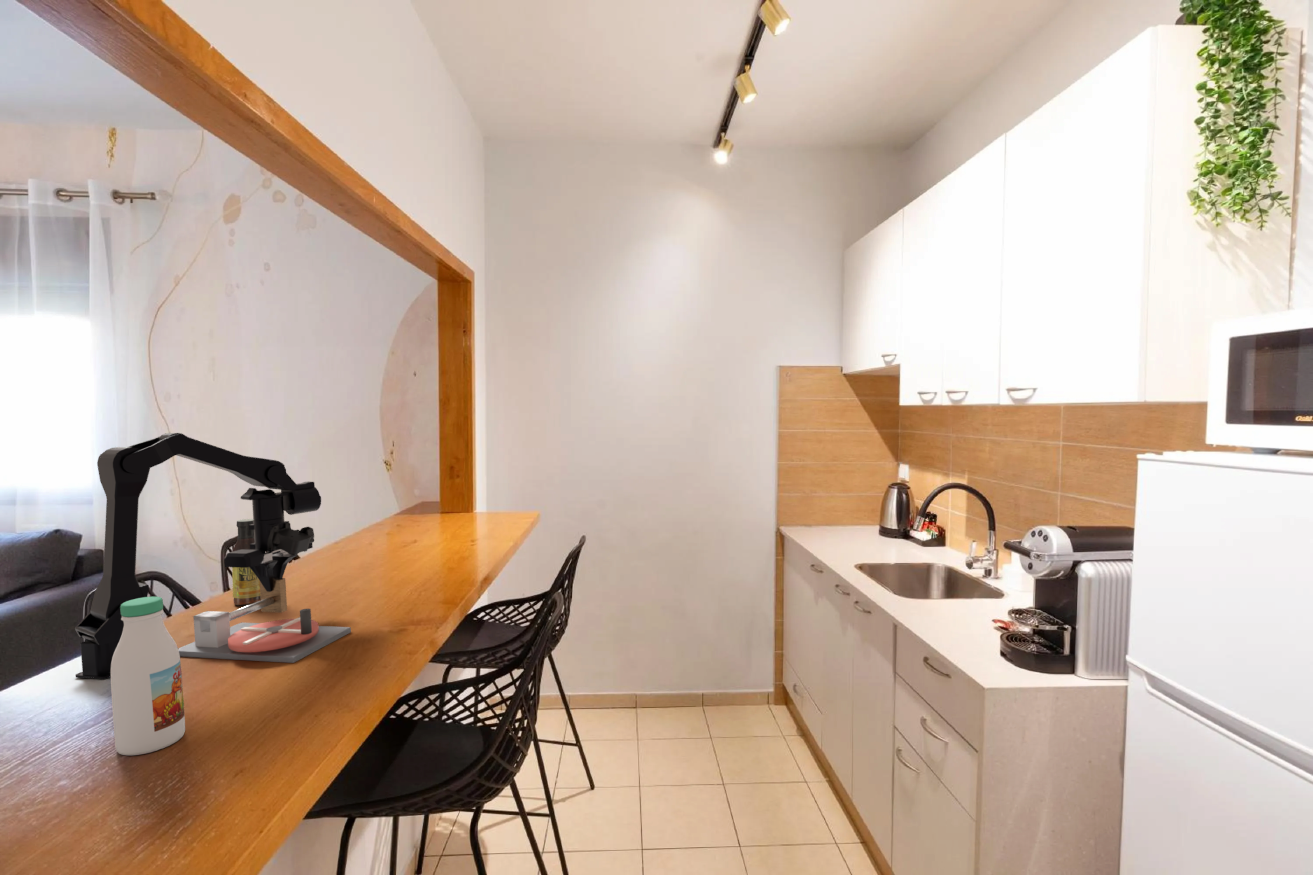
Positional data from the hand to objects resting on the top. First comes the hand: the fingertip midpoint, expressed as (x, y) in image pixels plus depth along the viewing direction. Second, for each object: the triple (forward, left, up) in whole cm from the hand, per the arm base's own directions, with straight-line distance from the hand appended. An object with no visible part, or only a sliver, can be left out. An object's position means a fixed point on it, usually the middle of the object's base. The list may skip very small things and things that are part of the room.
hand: (273, 590), depth 142 cm
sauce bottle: (+12, +18, -7) cm, 23 cm away
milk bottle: (-48, -22, -7) cm, 53 cm away
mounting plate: (-11, -8, -7) cm, 16 cm away
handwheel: (-13, -12, -5) cm, 19 cm away
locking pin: (-6, 0, -5) cm, 7 cm away
